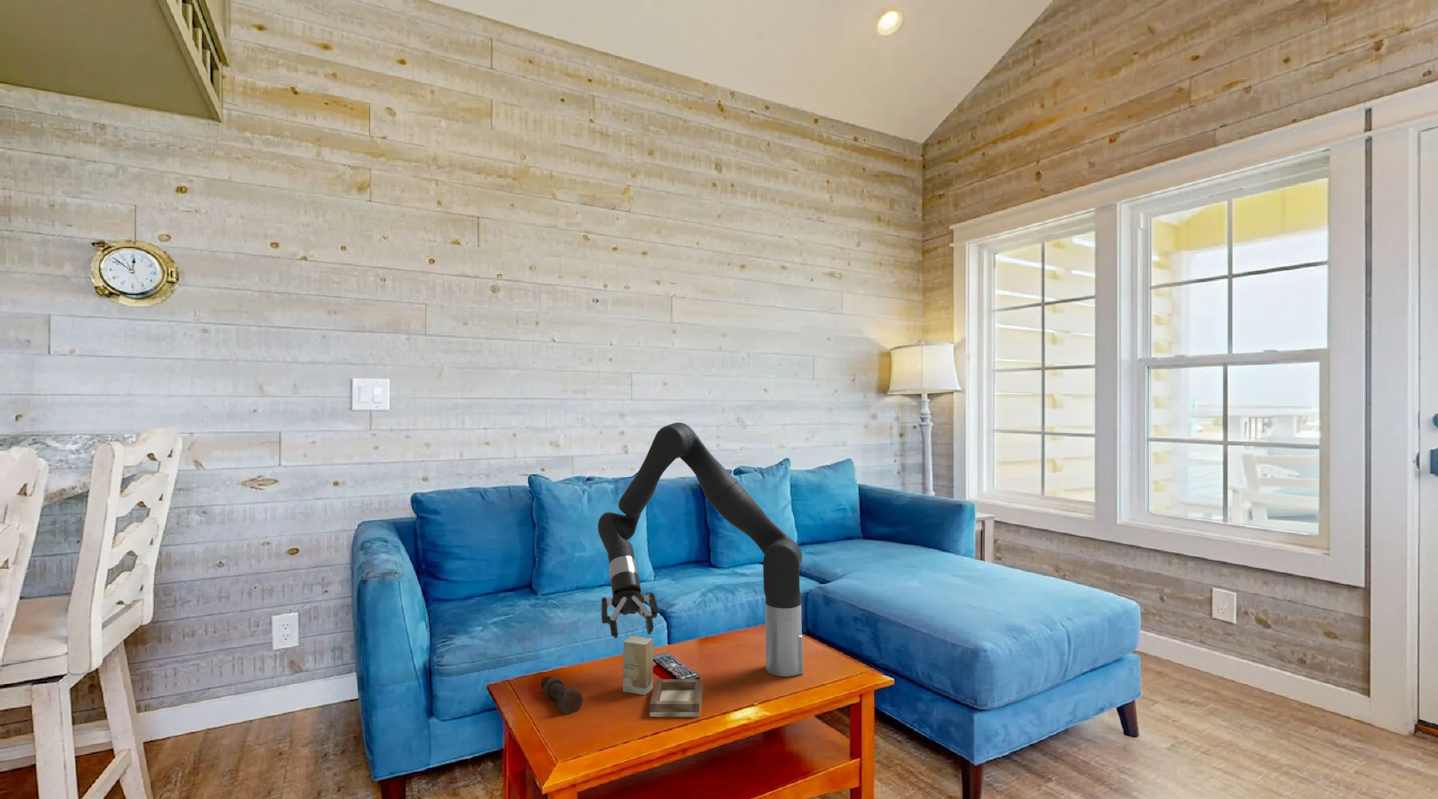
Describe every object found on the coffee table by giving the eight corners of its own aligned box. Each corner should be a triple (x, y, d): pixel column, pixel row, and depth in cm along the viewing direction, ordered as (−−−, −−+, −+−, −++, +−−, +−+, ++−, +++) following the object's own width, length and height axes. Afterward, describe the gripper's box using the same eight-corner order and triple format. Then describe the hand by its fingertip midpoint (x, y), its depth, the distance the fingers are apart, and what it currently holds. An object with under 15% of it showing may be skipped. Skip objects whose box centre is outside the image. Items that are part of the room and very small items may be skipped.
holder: (702, 691, 158) (702, 679, 158) (699, 716, 145) (699, 703, 145) (656, 691, 159) (656, 679, 159) (649, 716, 146) (649, 703, 146)
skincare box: (622, 692, 158) (621, 641, 158) (630, 684, 162) (629, 635, 162) (646, 695, 156) (646, 644, 156) (654, 688, 160) (653, 637, 160)
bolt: (549, 697, 160) (575, 718, 148) (531, 691, 158) (556, 712, 146) (560, 673, 162) (586, 692, 150) (543, 667, 160) (568, 686, 148)
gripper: (598, 572, 171) (606, 631, 160) (652, 567, 176) (663, 624, 165) (596, 587, 176) (603, 645, 165) (648, 582, 181) (658, 638, 170)
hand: (633, 634), depth 165 cm, fingers open, 8 cm apart
